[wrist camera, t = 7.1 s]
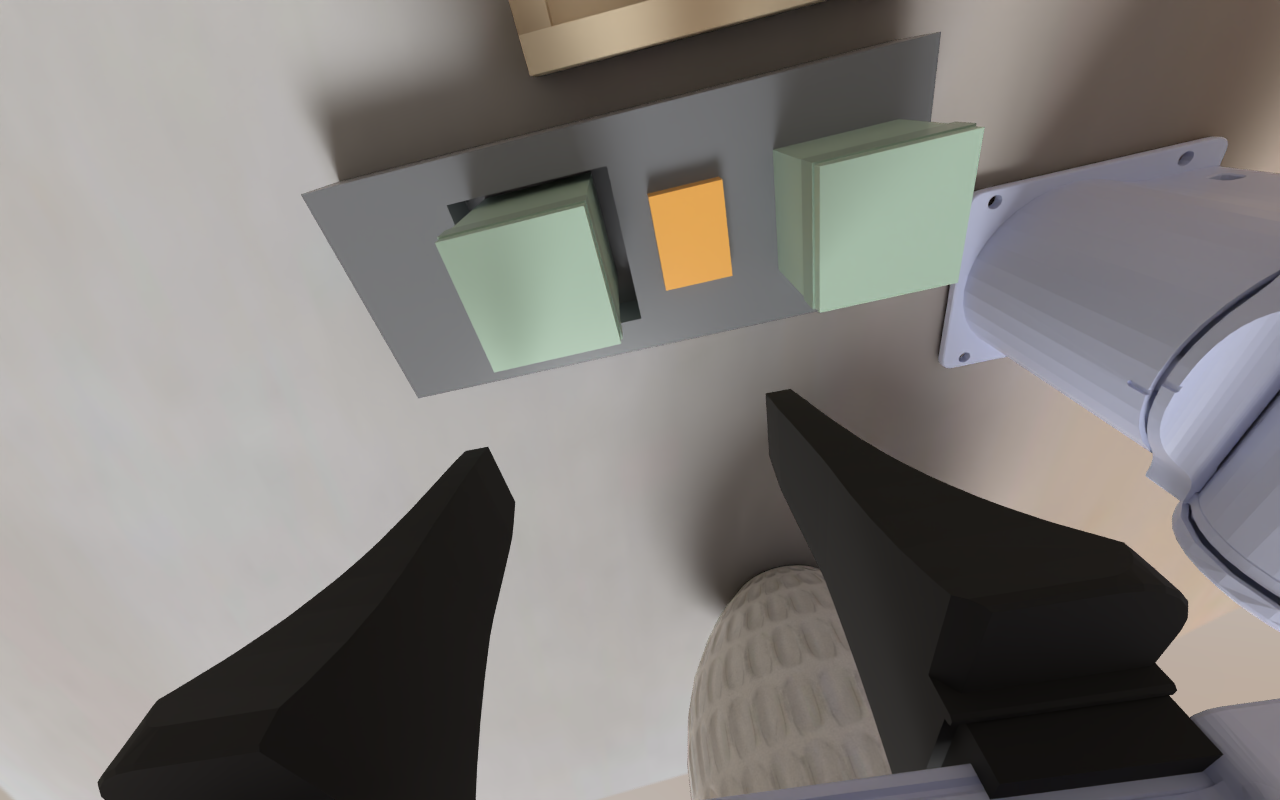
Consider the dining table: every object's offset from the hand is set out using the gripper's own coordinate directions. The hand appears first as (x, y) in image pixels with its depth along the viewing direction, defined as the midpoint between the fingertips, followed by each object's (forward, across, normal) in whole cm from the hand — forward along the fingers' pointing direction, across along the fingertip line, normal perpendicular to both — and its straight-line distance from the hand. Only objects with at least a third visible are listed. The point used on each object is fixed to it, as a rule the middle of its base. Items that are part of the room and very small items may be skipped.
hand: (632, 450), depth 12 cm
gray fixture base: (+10, -1, -3) cm, 10 cm away
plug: (+9, +2, -3) cm, 10 cm away
